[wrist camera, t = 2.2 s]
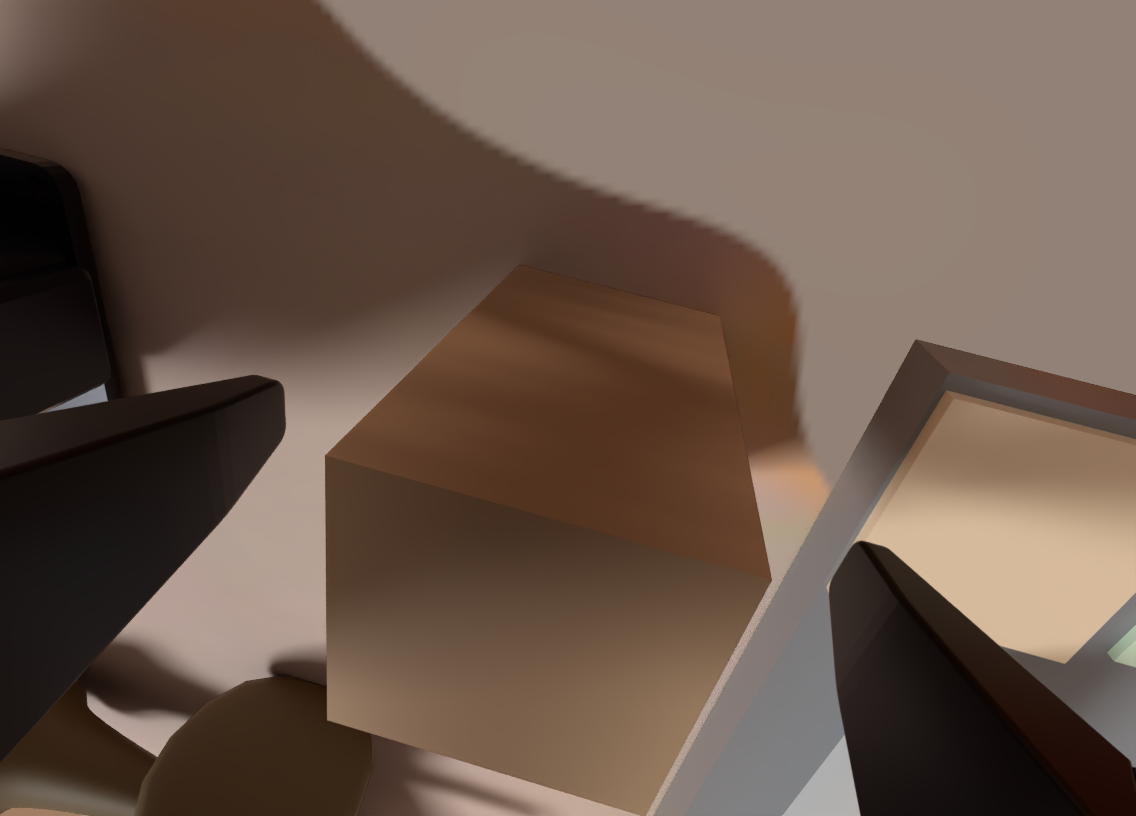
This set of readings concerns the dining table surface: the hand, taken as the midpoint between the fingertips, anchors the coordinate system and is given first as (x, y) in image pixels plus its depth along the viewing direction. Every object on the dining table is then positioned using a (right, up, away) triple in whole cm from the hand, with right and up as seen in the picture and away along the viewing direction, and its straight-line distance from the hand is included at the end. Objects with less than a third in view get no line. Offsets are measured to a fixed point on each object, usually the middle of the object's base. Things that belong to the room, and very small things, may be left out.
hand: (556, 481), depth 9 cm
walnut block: (+1, +2, +3) cm, 4 cm away
